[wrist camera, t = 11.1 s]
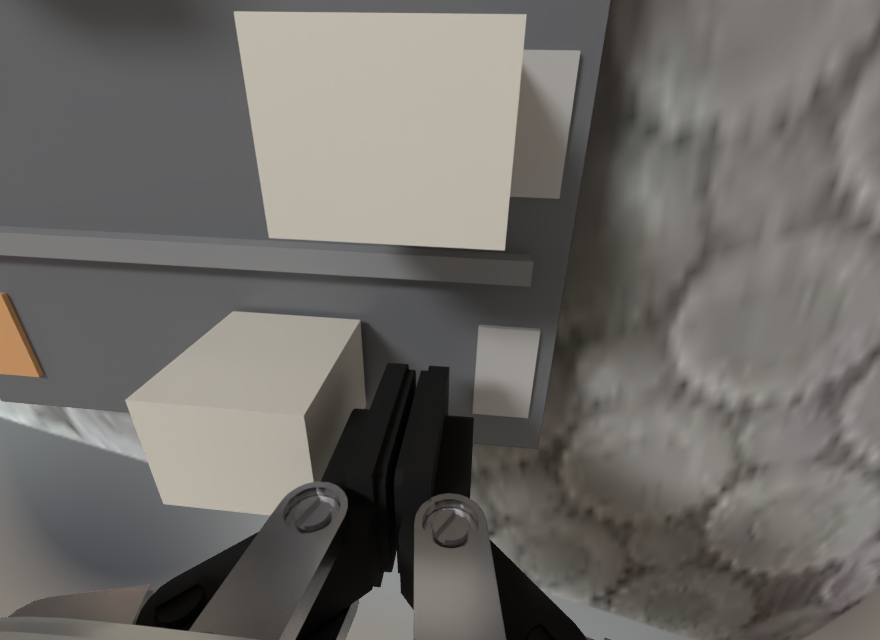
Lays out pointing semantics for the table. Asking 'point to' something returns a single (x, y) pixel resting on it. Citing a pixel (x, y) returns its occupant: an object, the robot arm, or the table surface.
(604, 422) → the table surface
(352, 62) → the tab
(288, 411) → the tab
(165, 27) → the switch bank
